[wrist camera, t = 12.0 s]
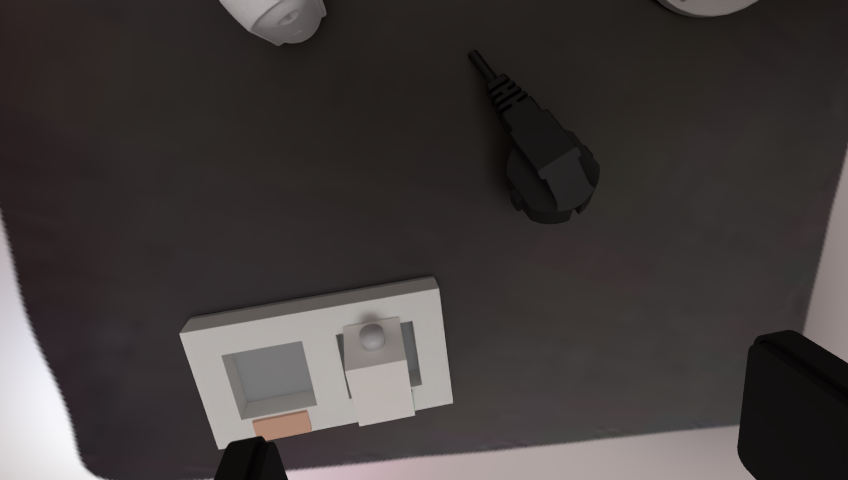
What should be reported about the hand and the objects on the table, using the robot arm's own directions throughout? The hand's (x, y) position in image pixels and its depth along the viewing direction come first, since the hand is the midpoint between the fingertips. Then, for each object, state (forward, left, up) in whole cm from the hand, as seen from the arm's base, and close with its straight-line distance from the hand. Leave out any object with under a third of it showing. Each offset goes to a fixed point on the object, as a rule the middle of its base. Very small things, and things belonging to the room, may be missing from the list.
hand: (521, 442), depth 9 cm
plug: (+4, +15, -23) cm, 27 cm away
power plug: (-7, -6, -28) cm, 29 cm away
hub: (+7, +12, -25) cm, 29 cm away
